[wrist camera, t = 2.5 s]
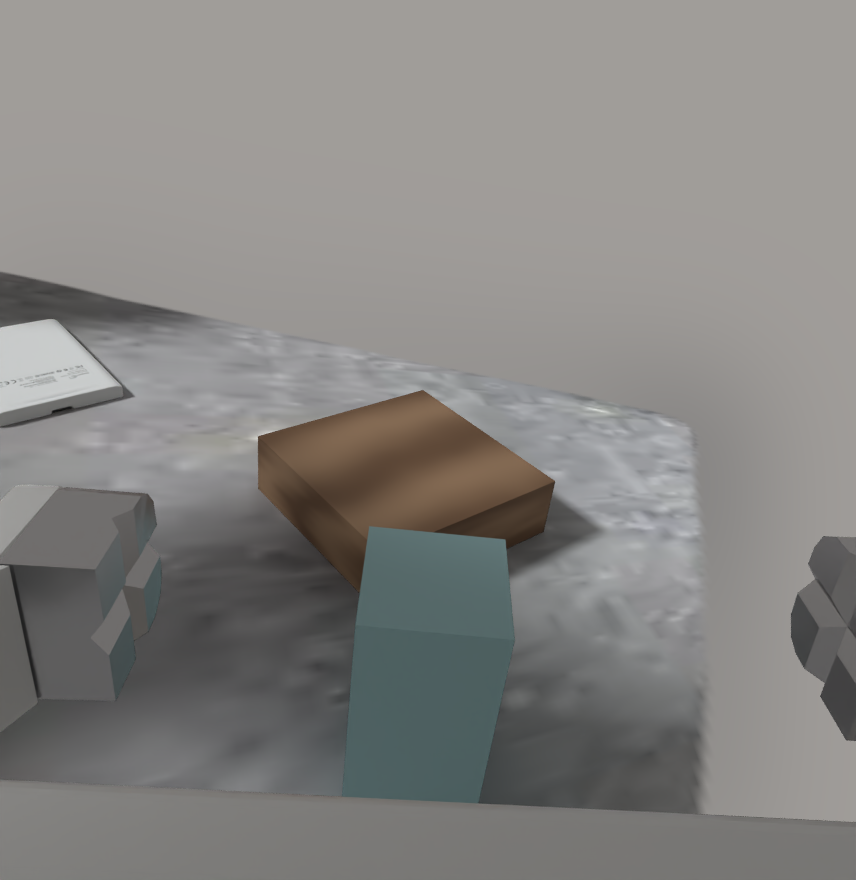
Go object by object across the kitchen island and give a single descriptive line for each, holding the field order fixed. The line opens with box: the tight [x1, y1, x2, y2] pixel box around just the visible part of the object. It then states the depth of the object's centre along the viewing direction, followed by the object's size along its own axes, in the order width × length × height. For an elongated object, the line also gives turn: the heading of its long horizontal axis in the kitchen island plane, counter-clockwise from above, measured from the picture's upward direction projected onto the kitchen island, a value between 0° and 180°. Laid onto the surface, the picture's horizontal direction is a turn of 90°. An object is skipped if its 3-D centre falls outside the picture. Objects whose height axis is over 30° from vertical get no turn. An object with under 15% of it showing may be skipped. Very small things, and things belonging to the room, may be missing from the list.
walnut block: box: [258, 390, 555, 593], centre depth 46 cm, size 12×12×4 cm
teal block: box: [342, 526, 515, 803], centre depth 29 cm, size 5×5×10 cm
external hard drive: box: [0, 319, 123, 427], centre depth 56 cm, size 2×8×12 cm
